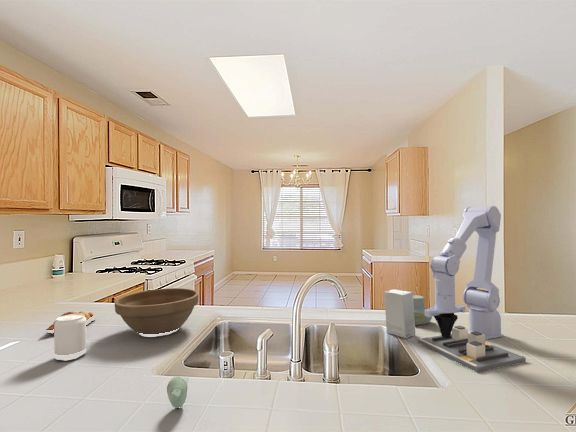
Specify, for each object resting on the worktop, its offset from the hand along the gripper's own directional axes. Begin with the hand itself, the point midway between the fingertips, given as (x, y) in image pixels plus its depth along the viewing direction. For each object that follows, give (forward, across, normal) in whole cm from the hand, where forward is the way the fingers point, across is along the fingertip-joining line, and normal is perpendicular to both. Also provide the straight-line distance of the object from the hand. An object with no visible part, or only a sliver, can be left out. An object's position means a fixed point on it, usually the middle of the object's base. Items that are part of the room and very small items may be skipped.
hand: (445, 337), depth 105 cm
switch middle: (+1, -6, +6) cm, 9 cm away
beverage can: (+3, +111, -33) cm, 115 cm away
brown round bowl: (+3, +87, -48) cm, 99 cm away
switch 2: (+1, +1, +12) cm, 12 cm away
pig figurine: (+3, +81, +7) cm, 81 cm away
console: (+3, -2, +6) cm, 7 cm away
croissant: (+3, +117, -64) cm, 134 cm away
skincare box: (+3, +7, -14) cm, 16 cm away
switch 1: (+1, -6, 0) cm, 6 cm away
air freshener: (+3, -7, -22) cm, 23 cm away
